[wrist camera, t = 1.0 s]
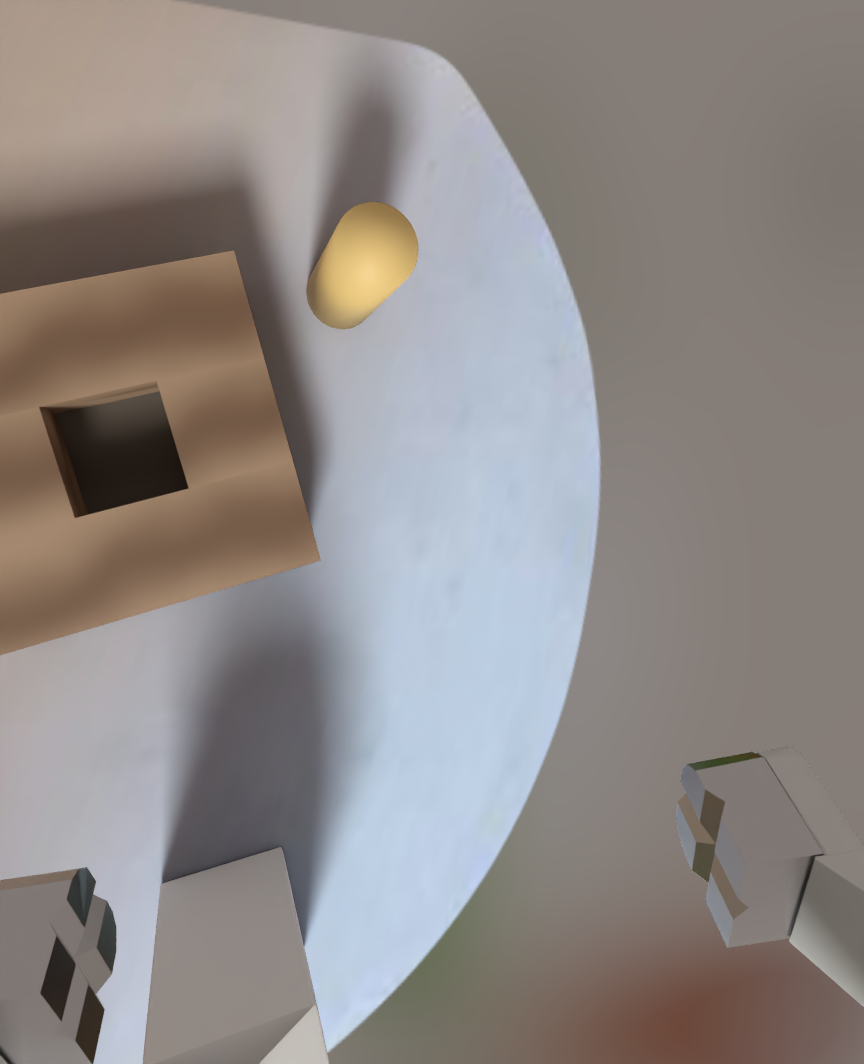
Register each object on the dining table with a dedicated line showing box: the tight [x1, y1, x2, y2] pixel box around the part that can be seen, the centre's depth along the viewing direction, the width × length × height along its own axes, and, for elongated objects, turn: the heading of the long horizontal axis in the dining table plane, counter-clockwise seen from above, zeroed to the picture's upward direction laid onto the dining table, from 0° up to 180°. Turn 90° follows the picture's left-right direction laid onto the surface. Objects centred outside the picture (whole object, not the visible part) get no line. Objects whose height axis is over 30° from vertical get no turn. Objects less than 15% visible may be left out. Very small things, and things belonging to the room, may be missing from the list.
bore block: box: [0, 250, 321, 655], centre depth 40 cm, size 16×16×6 cm
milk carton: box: [143, 847, 329, 1064], centre depth 38 cm, size 7×7×19 cm
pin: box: [306, 202, 418, 329], centre depth 41 cm, size 4×4×10 cm
